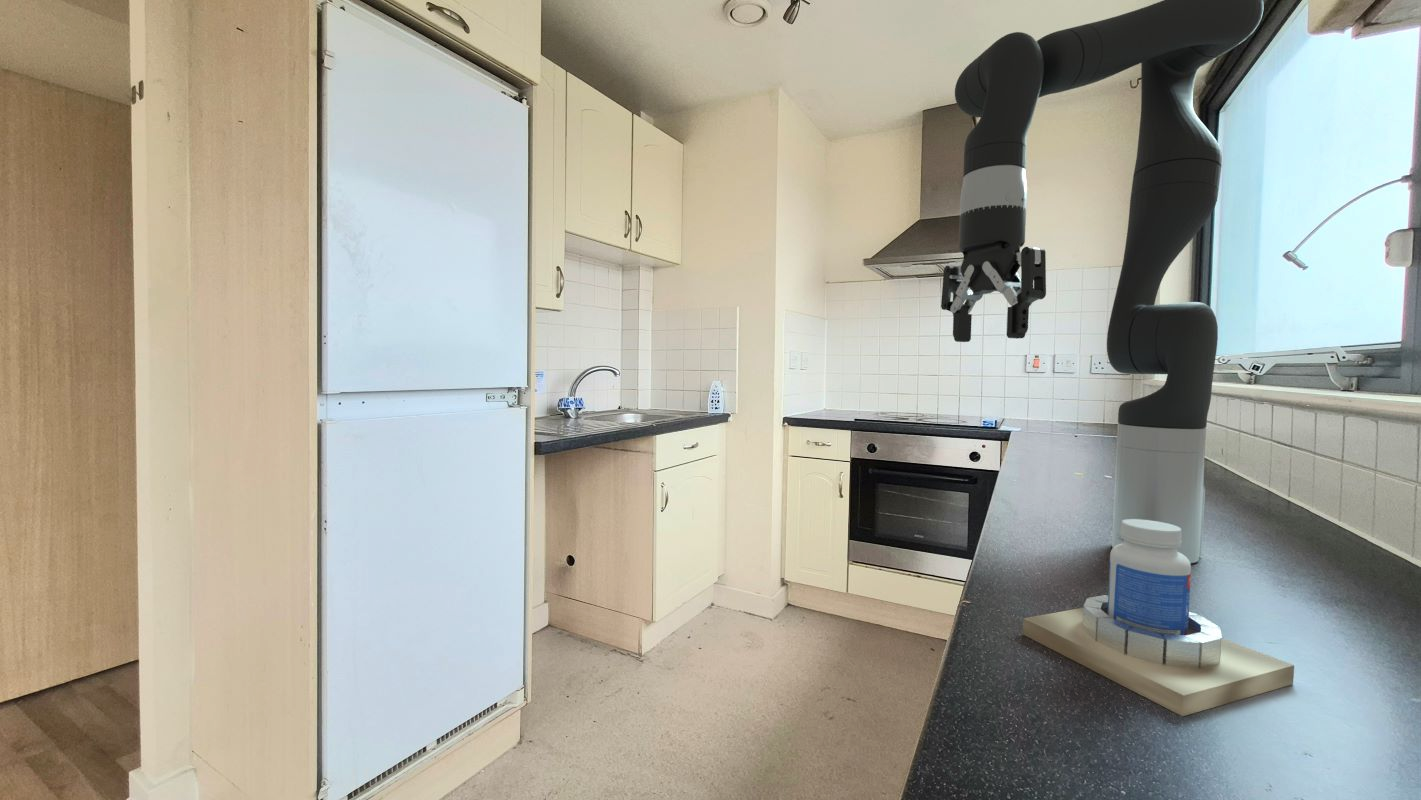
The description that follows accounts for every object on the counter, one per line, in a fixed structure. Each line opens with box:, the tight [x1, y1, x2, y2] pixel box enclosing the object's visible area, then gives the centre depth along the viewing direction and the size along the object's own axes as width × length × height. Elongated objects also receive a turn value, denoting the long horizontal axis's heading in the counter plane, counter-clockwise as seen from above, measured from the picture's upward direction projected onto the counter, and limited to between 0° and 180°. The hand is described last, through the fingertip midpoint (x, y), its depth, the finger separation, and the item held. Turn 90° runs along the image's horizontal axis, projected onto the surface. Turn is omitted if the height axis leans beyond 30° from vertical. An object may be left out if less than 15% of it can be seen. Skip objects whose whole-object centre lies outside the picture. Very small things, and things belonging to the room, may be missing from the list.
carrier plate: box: [1022, 607, 1295, 717], centre depth 48 cm, size 13×13×2 cm
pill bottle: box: [1107, 519, 1192, 635], centre depth 48 cm, size 6×5×10 cm
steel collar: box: [1082, 594, 1222, 669], centre depth 48 cm, size 9×9×2 cm
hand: (987, 340), depth 72 cm, fingers open, 8 cm apart
